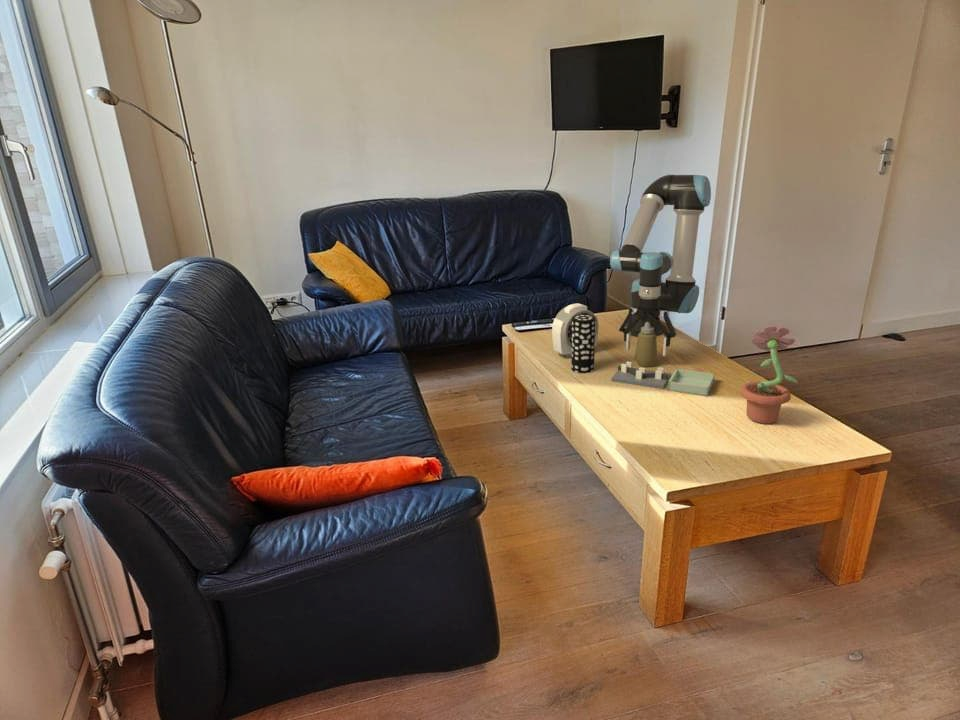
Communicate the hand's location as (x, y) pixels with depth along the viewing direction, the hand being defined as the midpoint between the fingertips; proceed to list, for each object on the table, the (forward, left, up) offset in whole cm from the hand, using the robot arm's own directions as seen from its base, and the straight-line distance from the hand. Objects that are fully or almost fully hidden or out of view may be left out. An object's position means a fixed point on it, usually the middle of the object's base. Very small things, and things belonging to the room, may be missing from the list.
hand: (646, 352), depth 232 cm
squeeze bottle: (0, 0, -5) cm, 5 cm away
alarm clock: (-1, -28, -5) cm, 28 cm away
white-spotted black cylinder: (+13, -20, -5) cm, 24 cm away
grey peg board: (+14, +2, -5) cm, 15 cm away
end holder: (+14, +19, -5) cm, 24 cm away
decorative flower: (+30, +43, -5) cm, 53 cm away
